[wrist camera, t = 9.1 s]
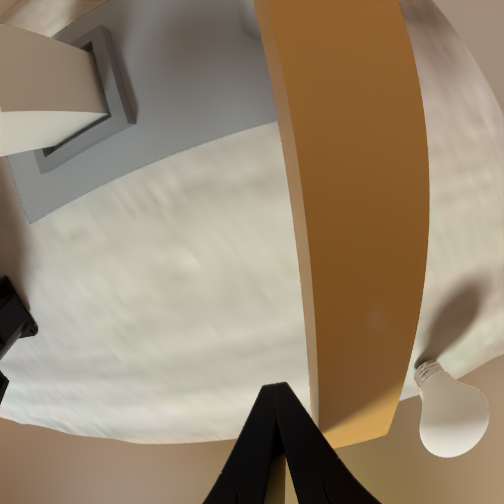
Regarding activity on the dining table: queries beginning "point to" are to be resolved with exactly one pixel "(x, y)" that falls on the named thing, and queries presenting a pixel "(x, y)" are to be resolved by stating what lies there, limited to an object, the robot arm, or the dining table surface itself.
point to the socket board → (153, 92)
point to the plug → (45, 91)
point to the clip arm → (352, 198)
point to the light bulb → (449, 411)
